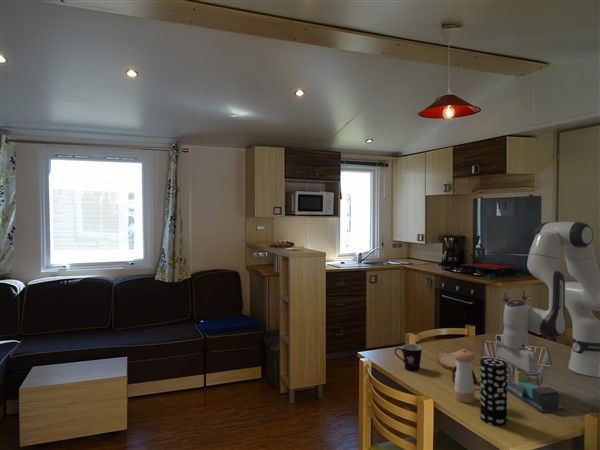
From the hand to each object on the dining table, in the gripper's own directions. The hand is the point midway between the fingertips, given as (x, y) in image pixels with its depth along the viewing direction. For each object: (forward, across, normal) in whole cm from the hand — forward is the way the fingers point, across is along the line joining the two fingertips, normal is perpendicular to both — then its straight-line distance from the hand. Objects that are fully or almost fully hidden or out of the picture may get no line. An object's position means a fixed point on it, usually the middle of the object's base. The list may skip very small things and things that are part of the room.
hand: (515, 375), depth 160 cm
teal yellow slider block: (+4, -9, 0) cm, 10 cm away
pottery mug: (+6, +11, +16) cm, 20 cm away
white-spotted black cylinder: (+6, -20, +24) cm, 32 cm away
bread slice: (+6, +31, +10) cm, 33 cm away
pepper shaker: (+6, -4, +25) cm, 26 cm away
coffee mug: (+6, +29, +32) cm, 44 cm away
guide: (+6, -7, 0) cm, 9 cm away
